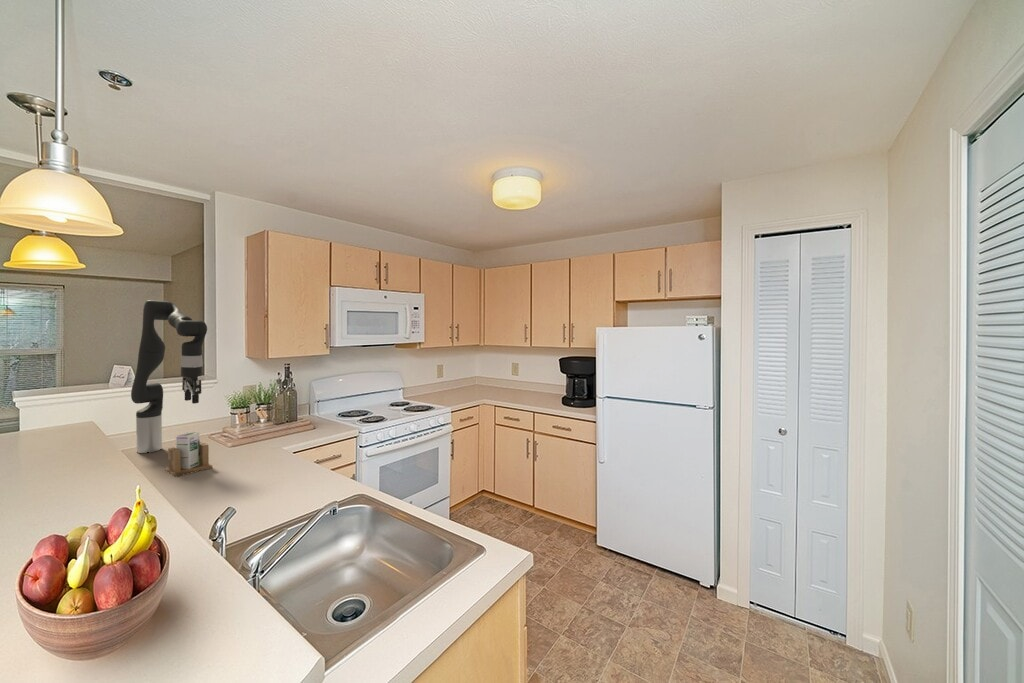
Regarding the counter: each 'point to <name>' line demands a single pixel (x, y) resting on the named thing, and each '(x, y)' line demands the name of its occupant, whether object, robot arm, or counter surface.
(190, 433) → the syrup box
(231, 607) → the counter surface
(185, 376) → the robot arm
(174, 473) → the slot block
